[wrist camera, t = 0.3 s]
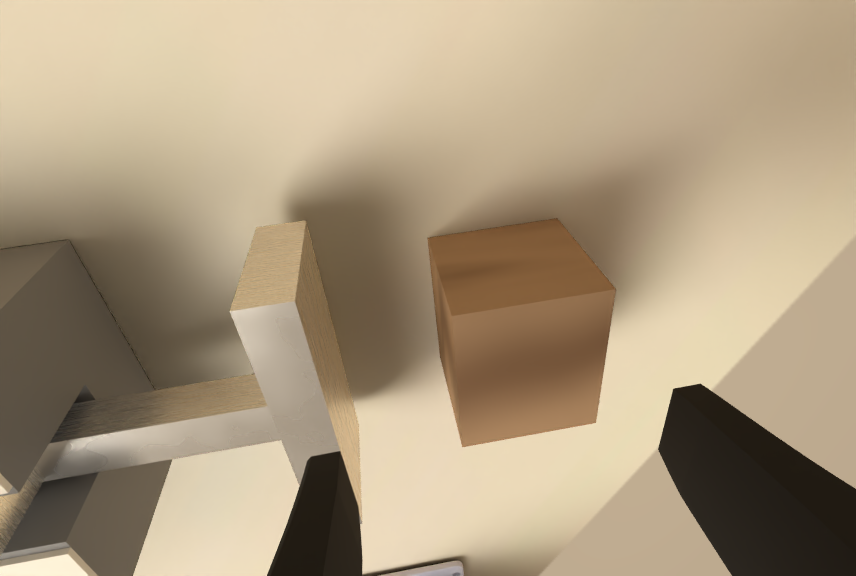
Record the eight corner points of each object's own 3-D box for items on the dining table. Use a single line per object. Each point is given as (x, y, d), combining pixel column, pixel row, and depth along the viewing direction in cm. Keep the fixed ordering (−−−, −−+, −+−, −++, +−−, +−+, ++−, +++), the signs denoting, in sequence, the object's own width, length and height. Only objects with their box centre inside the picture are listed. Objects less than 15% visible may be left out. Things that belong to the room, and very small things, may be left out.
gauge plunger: (305, 220, 16) (276, 435, 9) (358, 424, 22) (366, 658, 14) (-36, 270, 15) (-375, 549, 8) (110, 467, 21) (-12, 736, 14)
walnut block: (548, 336, 22) (596, 422, 18) (439, 355, 22) (462, 447, 18) (556, 217, 19) (615, 289, 15) (427, 236, 19) (451, 316, 14)
